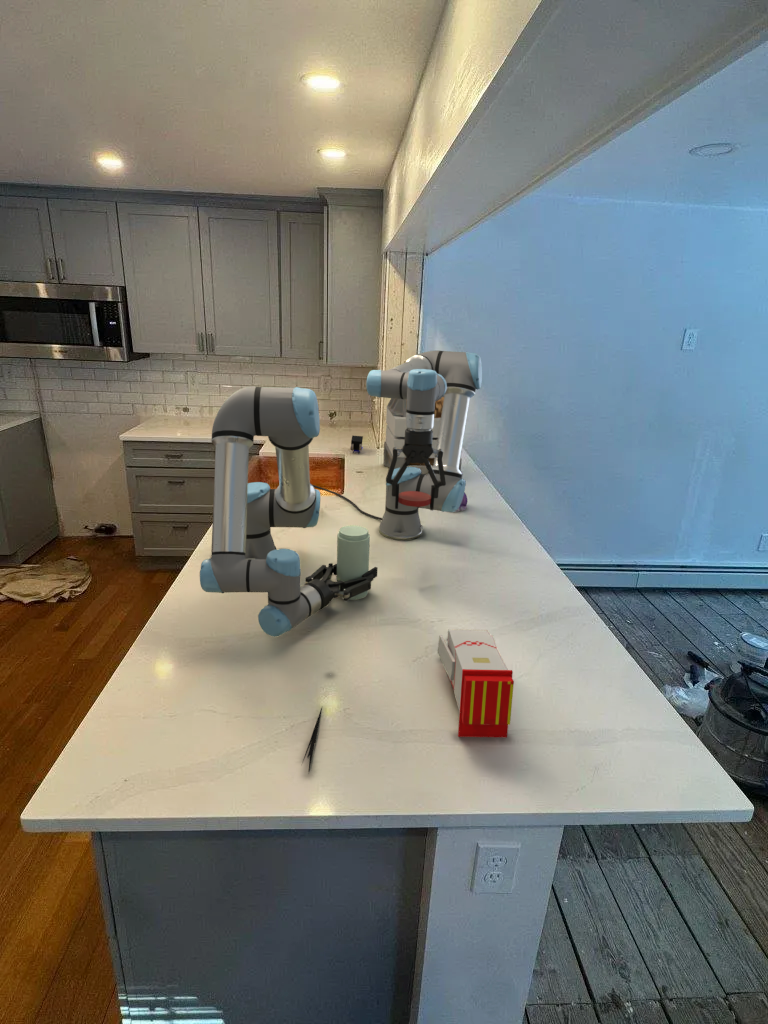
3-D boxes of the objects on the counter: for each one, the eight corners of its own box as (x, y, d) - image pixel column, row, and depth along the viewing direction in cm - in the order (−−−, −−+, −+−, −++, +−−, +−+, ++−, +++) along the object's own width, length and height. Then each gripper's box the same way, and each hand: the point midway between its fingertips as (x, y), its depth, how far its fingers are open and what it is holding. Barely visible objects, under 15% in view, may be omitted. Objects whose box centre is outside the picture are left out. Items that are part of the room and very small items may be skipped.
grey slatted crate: (382, 463, 289) (386, 382, 275) (445, 464, 293) (451, 384, 279) (390, 482, 257) (394, 392, 243) (460, 483, 261) (468, 394, 247)
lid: (438, 503, 158) (438, 497, 157) (412, 509, 152) (413, 503, 152) (416, 494, 165) (416, 489, 164) (391, 499, 159) (391, 494, 159)
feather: (331, 679, 122) (336, 673, 122) (307, 777, 96) (313, 769, 95) (324, 675, 122) (329, 669, 121) (298, 772, 95) (304, 764, 95)
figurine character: (362, 457, 305) (363, 447, 318) (362, 443, 301) (363, 434, 315) (350, 456, 304) (351, 447, 318) (350, 443, 301) (351, 434, 314)
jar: (372, 597, 155) (374, 534, 149) (341, 601, 152) (342, 538, 146) (361, 583, 163) (363, 523, 157) (332, 587, 160) (333, 526, 154)
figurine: (454, 513, 222) (457, 476, 217) (439, 505, 230) (442, 470, 225) (473, 510, 226) (477, 474, 221) (459, 503, 234) (462, 468, 229)
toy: (488, 613, 130) (523, 677, 101) (484, 667, 133) (517, 744, 104) (435, 612, 130) (455, 676, 101) (432, 666, 133) (451, 743, 103)
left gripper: (278, 599, 148) (331, 569, 166) (345, 624, 137) (394, 589, 155) (278, 573, 145) (331, 545, 163) (346, 597, 135) (395, 564, 153)
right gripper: (378, 429, 148) (374, 510, 156) (461, 433, 148) (454, 514, 156) (378, 424, 155) (375, 502, 163) (458, 427, 156) (451, 505, 163)
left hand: (362, 567), depth 159 cm, fingers closed on jar, 9 cm apart
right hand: (413, 507), depth 159 cm, fingers closed on lid, 9 cm apart
